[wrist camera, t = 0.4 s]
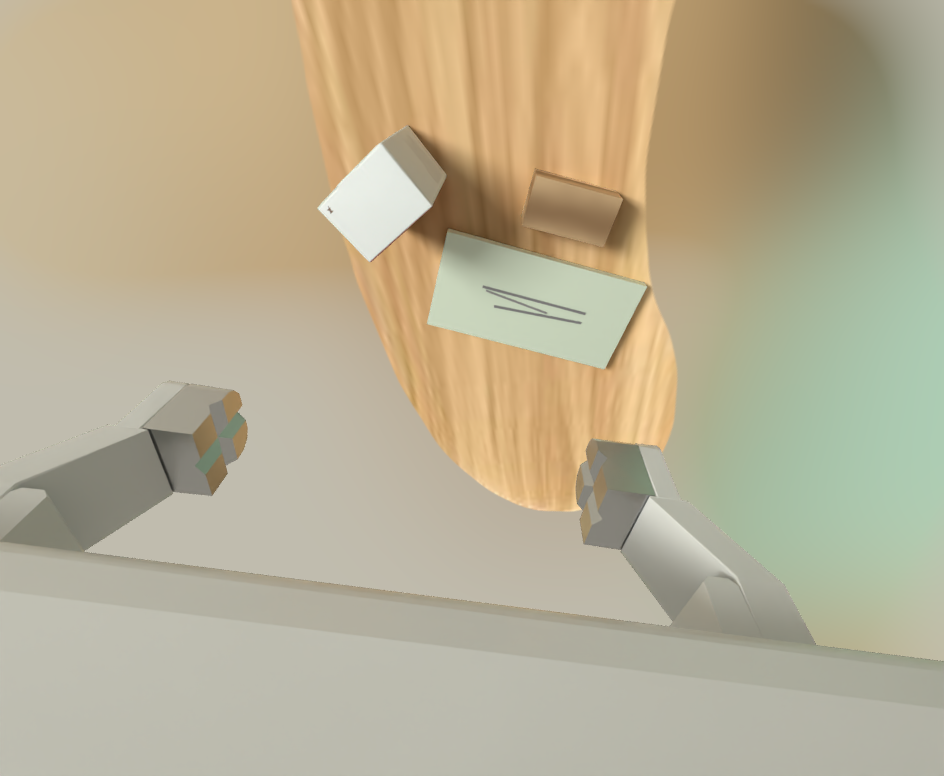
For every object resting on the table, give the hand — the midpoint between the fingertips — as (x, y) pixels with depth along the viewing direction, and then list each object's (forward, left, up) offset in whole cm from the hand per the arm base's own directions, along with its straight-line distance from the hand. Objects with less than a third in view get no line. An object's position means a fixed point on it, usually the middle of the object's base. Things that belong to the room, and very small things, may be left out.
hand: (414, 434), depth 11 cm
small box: (+5, -8, -45) cm, 46 cm away
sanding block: (+3, +10, -45) cm, 46 cm away
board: (+15, +10, -44) cm, 48 cm away
